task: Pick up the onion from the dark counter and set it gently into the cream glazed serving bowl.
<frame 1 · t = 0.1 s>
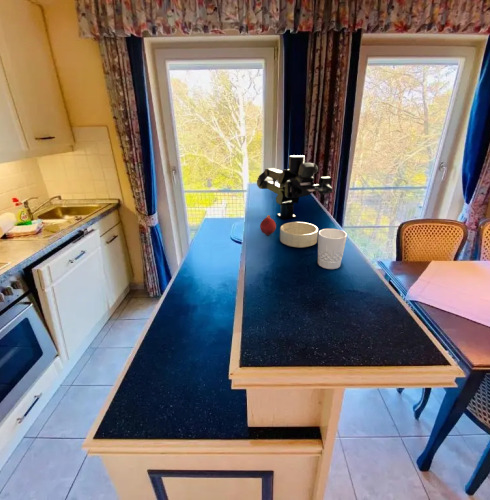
hand: (321, 192, 98), 17 cm above the table, tool horizontal, fingers open, 9 cm apart
onion: (267, 236, 106), on the table
white cup: (329, 264, 85), on the table
bowl: (298, 241, 101), on the table
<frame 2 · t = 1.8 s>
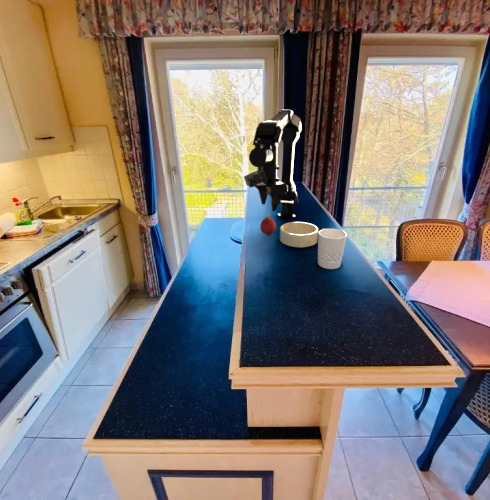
hand: (268, 207, 101), 11 cm above the table, tool pointing down, fingers open, 9 cm apart
nothing on the table moved.
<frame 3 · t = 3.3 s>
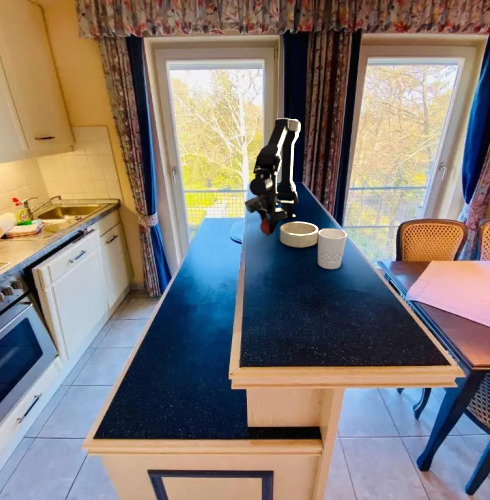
hand: (267, 230, 105), 2 cm above the table, tool pointing down, fingers closed on onion, 6 cm apart
onion: (267, 236, 106), on the table, touching gripper
everything else where it was.
when the fingers open (3 cm above the table, at t = 8.7 s): onion stays where it is, resting on bowl.
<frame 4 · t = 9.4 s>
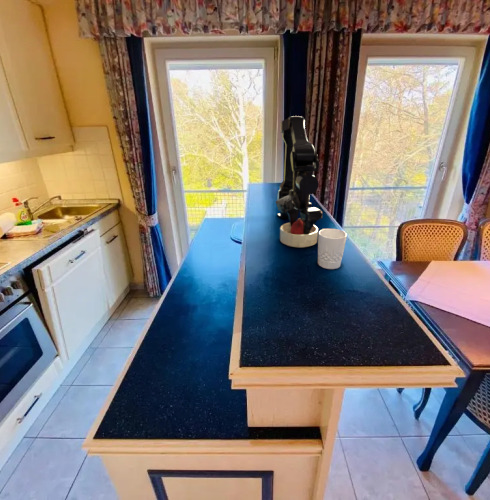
hand: (298, 231, 99), 4 cm above the table, tool pointing down, fingers open, 9 cm apart
onion: (298, 240, 101), resting on bowl
everything else where it was.
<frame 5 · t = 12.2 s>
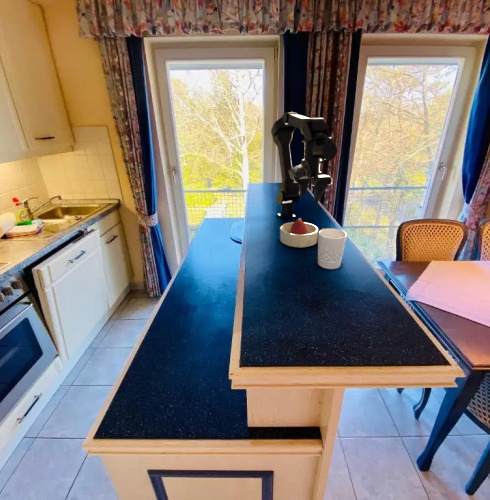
hand: (309, 199, 106), 12 cm above the table, tool pointing down, fingers open, 9 cm apart
nothing on the table moved.
at the end: onion inside the target area in the bowl (0.1 cm from its centre), point 0.4 cm above the bowl's base; the gripper is holding nothing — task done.
